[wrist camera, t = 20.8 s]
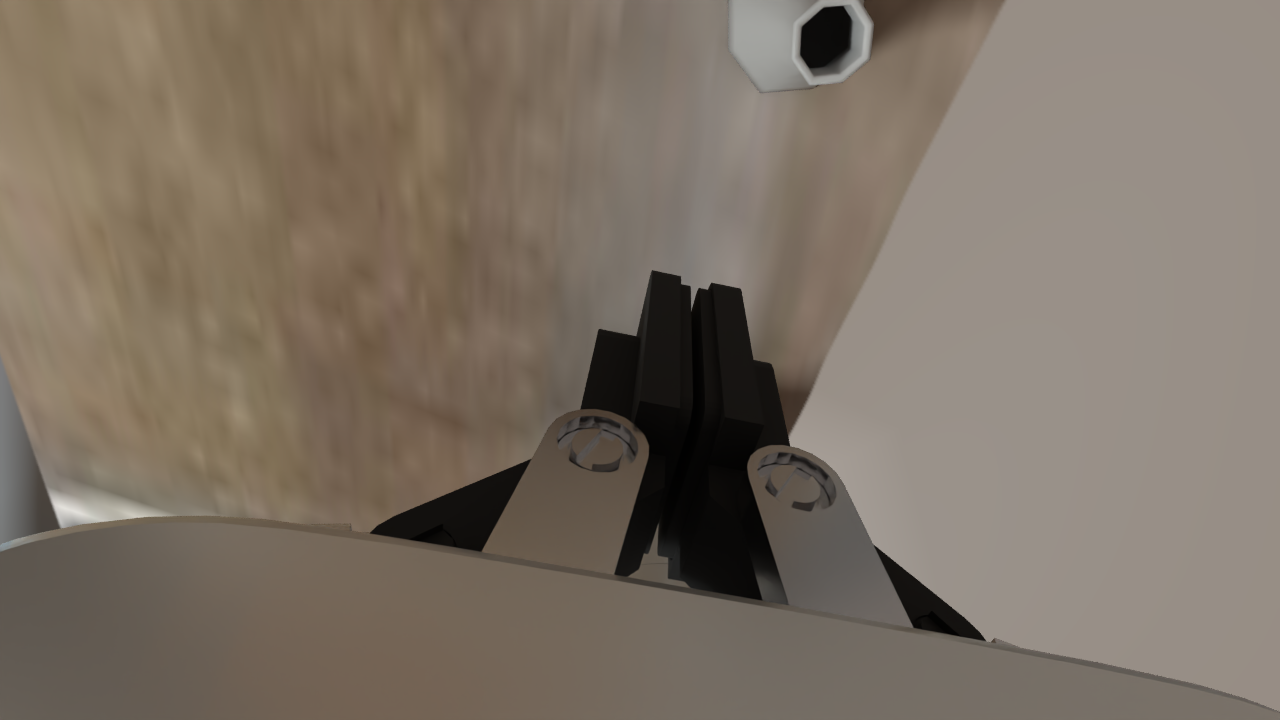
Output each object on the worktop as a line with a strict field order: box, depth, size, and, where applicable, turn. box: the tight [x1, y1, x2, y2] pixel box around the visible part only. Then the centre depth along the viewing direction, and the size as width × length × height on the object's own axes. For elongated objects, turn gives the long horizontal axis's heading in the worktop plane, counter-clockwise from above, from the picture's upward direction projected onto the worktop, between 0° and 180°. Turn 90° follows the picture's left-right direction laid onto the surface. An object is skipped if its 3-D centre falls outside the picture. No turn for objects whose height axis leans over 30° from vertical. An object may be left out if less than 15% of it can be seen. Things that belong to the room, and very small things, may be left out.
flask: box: [728, 0, 874, 93], centre depth 28 cm, size 7×7×10 cm
